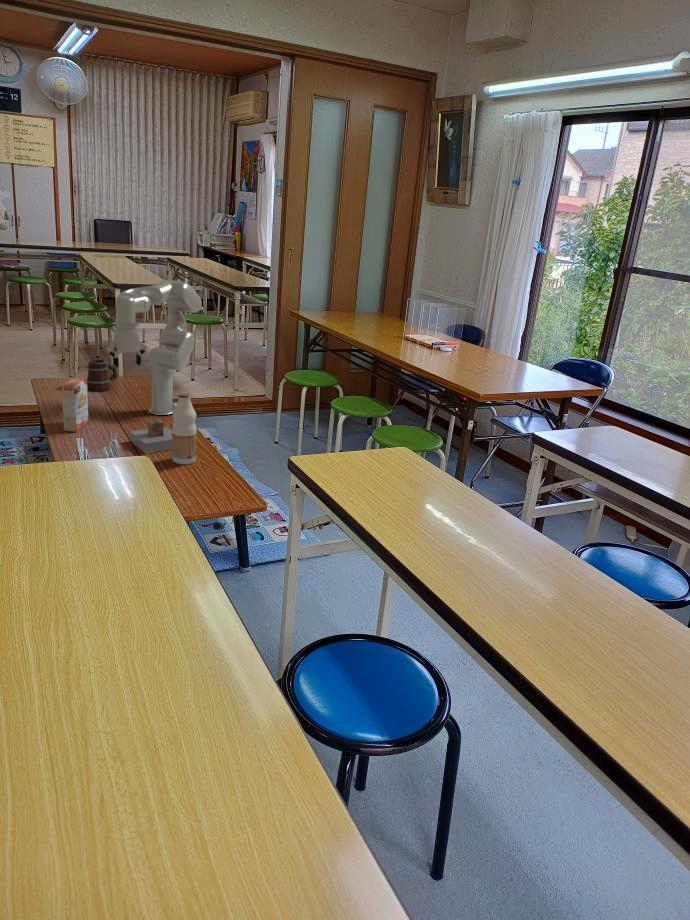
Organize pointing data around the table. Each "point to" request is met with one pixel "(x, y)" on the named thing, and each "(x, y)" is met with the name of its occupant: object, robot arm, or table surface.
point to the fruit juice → (184, 431)
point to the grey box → (152, 440)
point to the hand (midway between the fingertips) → (127, 365)
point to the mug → (99, 375)
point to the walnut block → (155, 428)
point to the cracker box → (75, 404)
